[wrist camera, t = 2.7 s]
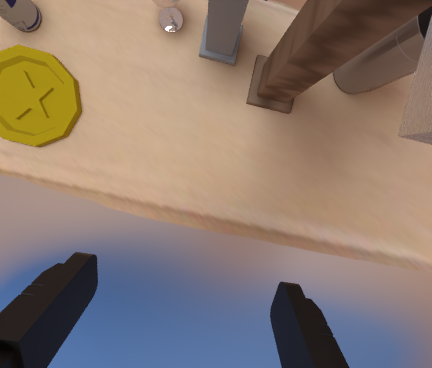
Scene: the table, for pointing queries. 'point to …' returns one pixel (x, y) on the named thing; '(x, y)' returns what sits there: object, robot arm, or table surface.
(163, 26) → the wineglass
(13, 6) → the energy drink
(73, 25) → the table surface
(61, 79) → the decorative disc
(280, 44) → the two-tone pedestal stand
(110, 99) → the table surface
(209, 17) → the grey pedestal column
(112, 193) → the table surface
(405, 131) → the notched grey block
